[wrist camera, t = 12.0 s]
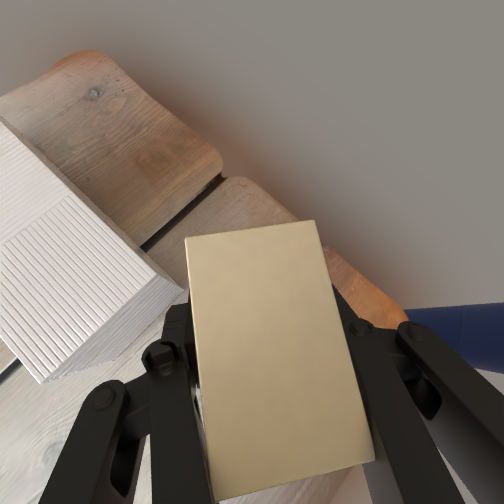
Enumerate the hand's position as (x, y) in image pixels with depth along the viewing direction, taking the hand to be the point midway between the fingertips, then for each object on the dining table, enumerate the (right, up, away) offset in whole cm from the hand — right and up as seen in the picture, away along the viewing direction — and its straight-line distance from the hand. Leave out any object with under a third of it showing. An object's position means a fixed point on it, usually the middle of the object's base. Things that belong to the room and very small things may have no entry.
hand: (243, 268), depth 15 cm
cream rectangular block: (0, -5, +2) cm, 5 cm away
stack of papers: (-23, +3, +16) cm, 28 cm away
